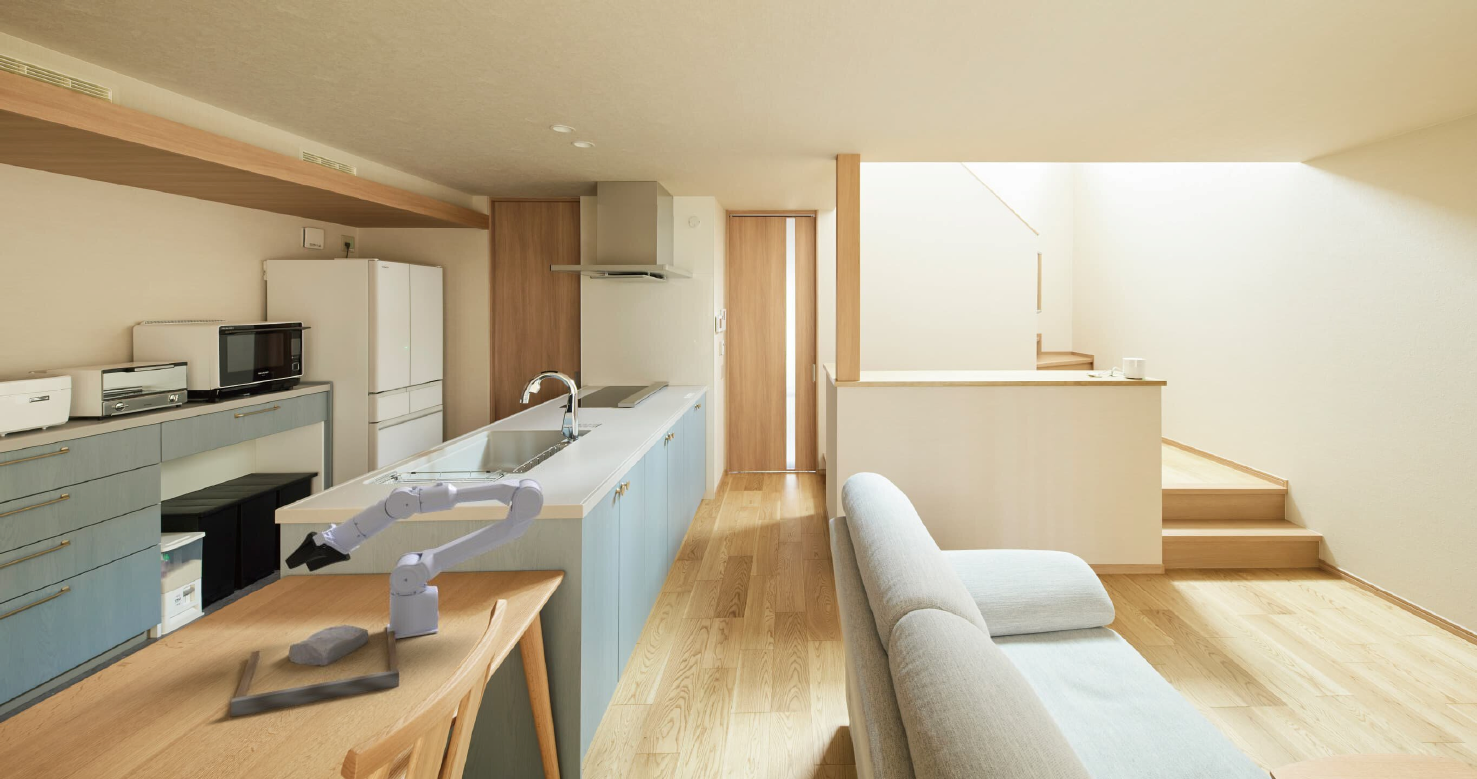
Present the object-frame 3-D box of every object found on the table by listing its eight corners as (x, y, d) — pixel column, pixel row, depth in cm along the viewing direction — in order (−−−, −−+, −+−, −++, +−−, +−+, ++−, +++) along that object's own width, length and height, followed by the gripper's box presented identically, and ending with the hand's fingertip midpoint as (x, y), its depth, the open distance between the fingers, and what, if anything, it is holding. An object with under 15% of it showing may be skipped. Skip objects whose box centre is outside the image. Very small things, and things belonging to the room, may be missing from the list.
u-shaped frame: (394, 636, 143) (394, 624, 142) (399, 686, 122) (399, 672, 122) (251, 657, 131) (251, 645, 131) (230, 717, 110) (230, 702, 110)
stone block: (283, 671, 130) (327, 668, 128) (279, 646, 130) (324, 642, 128) (332, 648, 142) (373, 644, 140) (329, 624, 142) (370, 620, 140)
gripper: (368, 516, 149) (308, 552, 146) (336, 506, 135) (269, 546, 132) (383, 543, 148) (323, 580, 144) (352, 535, 134) (284, 576, 131)
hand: (298, 566), depth 138 cm, fingers open, 7 cm apart
